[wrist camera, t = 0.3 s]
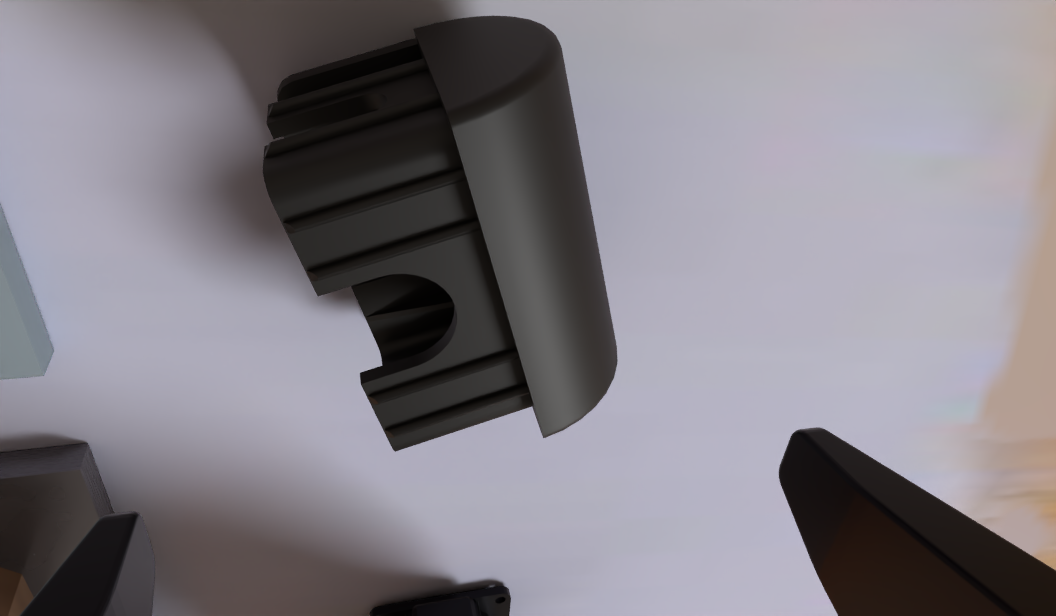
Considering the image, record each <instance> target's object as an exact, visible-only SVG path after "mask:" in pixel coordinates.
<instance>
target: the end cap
mask: <svg viewBox="0 0 1056 616" xmlns="http://www.w3.org/2000/svg"><path fill="white" fill-rule="evenodd" d="M414 33H415V36H416V39H411V40H407V41H404V42H401V43H397V44H394V45H391V46H387V47H384V48H380V49H377V50H374V51H370V52H367V53H364V54H360V55H357V56H353V57H350V58H347V59H343V60H340V61H337V62H333V63H330V64H327V65H323V66H320V67H316V68H313V69H310V70H306V71H303V72H300V73H296V74H293V75H291V76H289V77H288V78H286V79H284V80H283V81H282V83H281V85H280V87H279V89H278V94H277V99H278V102H276V103H272V104H269V106H268V116H267V125H268V128H269V130H270V132H271V134H272V136H273V139H276V138H279V137H282V136H284V139H281V140H277V141H274V142H271V143H269V145H267V146H265V149H264V160H263V176H264V181H265V184H266V188H267V191H268V194H269V196H270V199H271V201H272V204H273V206H274V208H275V210H276V212H277V214H278V216H279V218H280V220H281V222H282V224H283V226H284V228H285V230H286V233H287V235H288V237H289V239H290V241H291V243H292V245H293V247H294V249H295V251H296V253H297V255H298V257H299V259H300V261H301V263H302V265H303V267H304V269H305V271H306V273H307V275H308V277H309V279H310V281H311V283H312V285H313V288H314V290H315V292H316V294H317V296H321V295H324V294H327V293H330V292H333V291H336V290H340V289H343V288H346V287H349V286H352V289H353V292H354V294H355V296H356V298H357V300H358V303H359V305H360V307H361V309H362V312H363V314H364V316H365V318H366V320H367V323H368V325H369V327H370V329H371V332H372V334H373V336H374V338H375V340H376V343H377V345H378V347H379V350H380V353H381V358H382V365H383V366H380V367H377V368H374V369H371V370H368V371H364V372H361V373H360V379H361V385H362V387H363V389H364V391H365V393H366V396H367V398H368V400H369V402H370V404H371V406H372V408H373V410H374V412H375V414H376V416H377V418H378V420H379V422H380V424H381V426H382V428H383V430H384V432H385V434H386V436H387V438H388V440H389V442H390V444H391V446H392V448H393V450H394V451H398V450H401V449H404V448H407V447H410V446H413V445H416V444H419V443H422V442H425V441H428V440H431V439H434V438H437V437H441V436H444V435H447V434H450V433H453V432H456V431H459V430H462V429H465V428H468V427H471V426H474V425H477V424H480V423H483V422H486V421H489V420H492V419H495V418H498V417H501V416H504V415H507V414H510V413H513V412H516V411H519V410H522V409H525V408H528V407H531V406H532V407H533V410H534V413H535V415H536V418H537V421H538V424H539V427H540V430H541V432H542V435H543V438H546V437H548V436H550V435H553V434H555V433H557V432H560V431H562V430H564V429H566V428H567V427H569V426H571V425H572V424H574V423H576V422H577V421H579V420H581V419H582V418H583V417H584V416H585V415H586V414H587V413H589V412H590V411H591V410H592V409H593V408H594V407H595V406H596V405H597V404H598V403H599V401H600V400H601V399H602V398H603V396H604V395H605V394H606V392H607V390H608V388H609V386H610V384H611V382H612V380H613V378H614V375H615V371H616V366H617V346H616V341H615V335H614V330H613V324H612V319H611V314H610V308H609V303H608V297H607V292H606V286H605V281H604V276H603V270H602V265H601V259H600V254H599V249H598V243H597V238H596V232H595V227H594V221H593V216H592V211H591V205H590V200H589V194H588V189H587V184H586V178H585V173H584V167H583V162H582V156H581V151H580V146H579V140H578V135H577V129H576V124H575V119H574V113H573V108H572V102H571V97H570V91H569V86H568V81H567V75H566V70H565V64H564V59H563V54H562V48H561V45H560V43H559V41H558V39H557V37H556V35H555V34H554V33H553V32H552V31H550V30H549V29H548V28H547V27H545V26H544V25H542V24H540V23H537V22H534V21H532V20H529V19H523V18H517V17H510V16H480V17H469V18H462V19H454V20H449V21H444V22H439V23H434V24H430V25H427V26H423V27H419V28H415V29H414Z"/></svg>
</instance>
